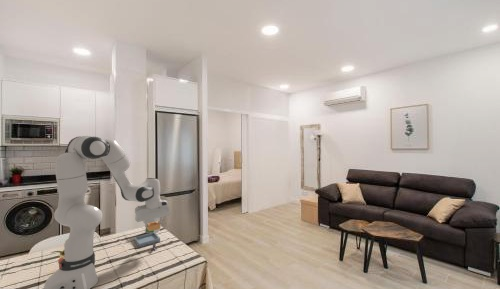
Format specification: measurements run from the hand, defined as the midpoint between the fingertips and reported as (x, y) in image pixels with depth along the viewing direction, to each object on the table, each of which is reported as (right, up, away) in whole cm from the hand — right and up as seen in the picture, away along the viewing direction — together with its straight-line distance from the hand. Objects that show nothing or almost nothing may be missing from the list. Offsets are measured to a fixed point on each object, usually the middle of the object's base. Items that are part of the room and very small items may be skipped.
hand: (153, 225), depth 144 cm
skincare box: (-13, -15, +30) cm, 36 cm away
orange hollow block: (0, -2, 0) cm, 2 cm away
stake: (0, -16, 0) cm, 16 cm away
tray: (-10, -15, +13) cm, 22 cm away
